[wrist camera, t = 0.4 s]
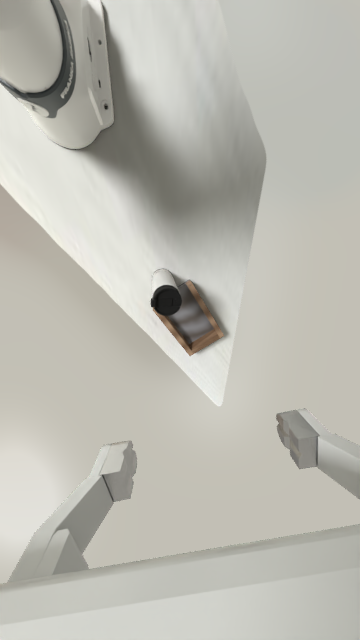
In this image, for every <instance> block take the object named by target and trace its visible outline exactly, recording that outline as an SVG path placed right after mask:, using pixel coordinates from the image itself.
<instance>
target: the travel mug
mask: <svg viewBox="0 0 360 640" xmlns="http://www.w3.org/2000/svg"><path fill="white" fill-rule="evenodd" d="M152 298H153V299H151V307H154V309H155V311H156V312H157V313H158V314H160V315H163V316H170V315H173V314H175V313H176V312H178V311H179V309H180V306H181V304H182V298H181V295H180V292H179V290H178V288H177V285H176V283H175V281H174V279H173V277H172V274H171V273H170V272H169V271H168V270H166V269H158V270H157V271H155V272H154V274H153V276H152Z"/></svg>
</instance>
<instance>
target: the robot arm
mask: <svg viewBox="0 0 360 640" xmlns="http://www.w3.org/2000/svg"><path fill="white" fill-rule="evenodd" d="M100 44H101V45H100ZM0 83H1V84H2V85H3V86H4V87H5V88H6V89H7V90H8V91H9V92H10V93H11V94H12V95H13V96H14V97H15V98H16V99H17V100H18V101H19V102H21V103H22V104H23V106H24V107H25V108H26V110H27V111H28V113H29V115H30V116H31V118H32V119H33V121H34V122H35V124H36V125H37V127H38V128H39V129H40V130H41V131H42V132H43V133H44V134H45V135H46V136H47V137H48V138H49V139H50V140H52V141H53V142H55V143H56V144H58V145H60V146H63V147H66V148H70V149H80V148H84V147H86V146H88V145H89V144H91V143H92V142H93V141H94V140H95V138H96V137H97V135H98V134H99V133H100V131H101V130H103V129H105V128H107V127H109V126H111V125H112V124H113V122H114V111H113V101H112V91H111V82H110V72H109V62H108V52H107V42H106V32H105V22H104V13H103V7H102V3H101V0H0ZM105 106H108V109H107V110H106V109H105ZM276 417H277V418H276V419H277V421H278V422H279V424H278V425H277V431H278V434H279V437H280V439H281V441H282V443H283V444H284V446H285V447H286V448H288V449H290V455H291V457H292V459H293V460H294V462H295V463H296V465H297V466H298V468H299V469H303V468H310V467H318V468H319V469H320V470H321V471H323V472H324V473H325V474H327V475H328V476H329V477H331V478H332V479H333V480H335V481H336V482H337V483H339V484H340V485H341V486H343V487H344V488H345V489H347V490H348V491H349V492H351V493H352V494H353V495H355V496H356V497H357V498H358V499H360V446H359V445H357V444H355V443H353V442H351V441H349V440H347V439H345V438H343V437H340V436H338V435H337V434H331V433H330V432H329V431H328V430H327V429H326V428H325V427H324V426H323V425H322V424H321V423H320V422H319V421H318V420H317V419H316V418H315V417H314V416H313V415H312V414H311V413H310V412H309V411H308V410H307V409H305V408H304V409H298V410H293V411H288V412H283V413H278V414H277V415H276ZM132 448H133V444H132V441H124V442H117V443H112V444H106V445H103V446H102V448H101V450H100V452H99V454H98V457H97V459H96V461H95V464H94V466H93V469H92V471H91V473H90V475H89V478H85V479H84V480H83V482H82V483H81V484H80V485H79V486H78V487H77V488H76V489H75V490H74V491H73V492H72V493H71V494H70V495H69V497H68V498H67V499H66V500H65V501H64V502H63V503H62V504H61V505H60V506H59V507H58V508H57V510H55V512H54V513H53V514H52V515H51V516H50V517H49V518H48V519H47V520H46V521H45V522H44V523H43V524H42V525H41V526H40V528H39V529H38V530H37V531H36V532H35V533H34V535H33V537H32V538H31V540H30V542H29V544H28V546H27V547H26V549H25V551H24V553H23V555H22V556H21V558H20V560H19V562H18V564H17V566H16V568H15V569H14V571H13V573H12V575H11V577H10V578H9V580H8V582H7V583H3V584H0V640H360V524H358V525H352V526H346V527H340V528H334V529H328V530H322V531H316V532H310V533H304V534H298V535H291V536H286V537H279V538H274V539H267V540H261V541H256V542H250V543H243V544H237V545H231V546H225V547H219V548H214V549H207V550H201V551H195V552H189V553H183V554H177V555H171V556H165V557H159V558H153V559H147V560H141V561H136V562H129V563H123V564H117V565H111V566H105V567H100V568H93V569H89V568H88V564H87V563H86V561H85V559H84V557H83V556H82V553H83V552H84V550H85V548H86V547H87V545H88V544H89V542H90V540H91V539H92V537H93V536H94V534H95V532H96V531H97V529H98V528H99V526H100V524H101V523H102V521H103V520H104V518H105V516H106V515H107V513H108V511H109V510H110V508H111V507H112V505H113V502H116V501H121V500H125V499H130V498H131V493H132V488H133V479H132V477H133V476H134V474H135V473H136V468H137V457H136V453H135V451H133V450H132Z"/></svg>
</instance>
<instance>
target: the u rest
mask: <svg viewBox="0 0 360 640" xmlns="http://www.w3.org/2000/svg"><path fill="white" fill-rule="evenodd" d="M178 290H179V292H180V295H181V298H182V304H181V306H180V309H179V311H178V312H176V313H175V314H173V315H170V316H163V315H160V314H158V313H157V312H156V311H155V309H154V307H153V311H154V312H155V314H156V315H157V316H158V317H159V318H160V320H161V321H162V322H163V323H164V325H165V326H166V327H167V328H168V330H169V331H170V332H171V333H172V335H173V336H174V337H175V338H176V339H177V341H178V342H179V343H180V344H181V346H182V347H183V348H184V349H185V351H186V352H187V353H188V354H189V356H191V355H193V354H194V353H196V352H198V351H199V350H201V349H203V348H205V347H206V346H208V345H210V344H211V343H213V342H215V341H216V340H218V339H220V338H221V337H223V336H224V335H223V333H222V331H221V330H220V328H219V326H218V325H217V323H216V321H215V320H214V318H213V316H212V315H211V313H210V311H209V310H208V308H207V307H206V305H205V303H204V302H203V300H202V298H201V297H200V295H199V293H198V292H197V290H196V288H195V287H194V285H193V284H192V282H191V281H190V280H188V281H187V282H185V283H184V284H182V285H181V286H179V287H178Z"/></svg>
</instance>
